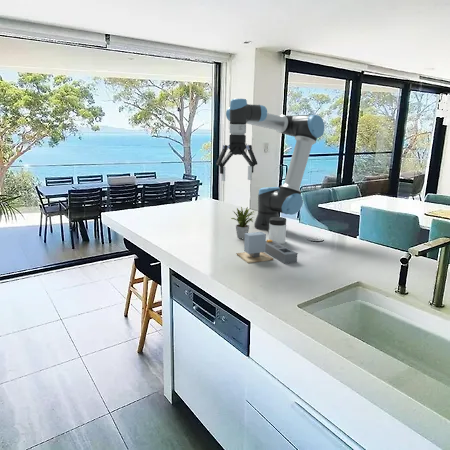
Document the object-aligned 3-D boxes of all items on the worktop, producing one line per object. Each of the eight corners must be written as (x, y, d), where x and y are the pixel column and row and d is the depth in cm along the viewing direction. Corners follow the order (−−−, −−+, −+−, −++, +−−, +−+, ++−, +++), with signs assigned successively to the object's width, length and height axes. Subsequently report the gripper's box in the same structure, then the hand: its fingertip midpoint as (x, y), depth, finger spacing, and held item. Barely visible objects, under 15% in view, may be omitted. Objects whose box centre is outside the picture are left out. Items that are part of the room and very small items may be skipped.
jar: (265, 242, 186) (266, 219, 183) (271, 238, 193) (272, 216, 190) (282, 245, 181) (283, 221, 178) (288, 241, 188) (289, 218, 185)
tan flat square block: (260, 251, 172) (260, 250, 171) (273, 259, 161) (273, 258, 161) (236, 254, 167) (236, 253, 167) (247, 263, 156) (248, 261, 156)
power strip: (254, 245, 181) (254, 235, 180) (265, 243, 183) (265, 234, 182) (284, 263, 156) (285, 252, 155) (296, 262, 158) (297, 251, 157)
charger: (244, 255, 164) (244, 233, 162) (260, 253, 167) (261, 231, 165) (248, 258, 160) (249, 235, 158) (265, 256, 163) (265, 234, 161)
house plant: (254, 242, 185) (255, 210, 181) (227, 240, 187) (227, 208, 183) (258, 235, 198) (259, 205, 194) (232, 233, 201) (232, 203, 197)
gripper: (215, 133, 164) (214, 182, 169) (265, 134, 174) (263, 180, 179) (209, 133, 171) (209, 180, 176) (258, 134, 180) (256, 178, 185)
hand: (236, 180), depth 177 cm, fingers open, 13 cm apart
